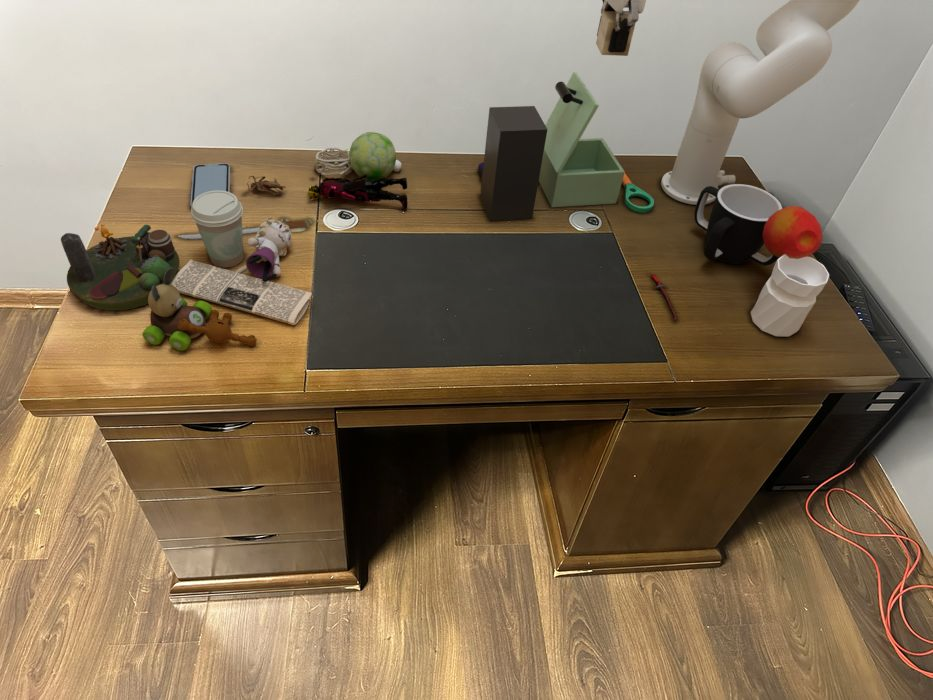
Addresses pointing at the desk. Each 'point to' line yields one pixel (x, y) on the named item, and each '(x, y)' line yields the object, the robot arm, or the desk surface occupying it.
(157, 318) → the toy car
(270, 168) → the desk surface
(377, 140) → the decorative ball
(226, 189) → the smartphone
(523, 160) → the block
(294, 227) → the sword
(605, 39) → the block
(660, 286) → the katana
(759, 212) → the mug
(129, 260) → the toy scene
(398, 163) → the spheres
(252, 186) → the insect
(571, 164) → the storage box
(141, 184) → the desk surface
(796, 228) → the apple
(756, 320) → the vase
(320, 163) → the bracelet
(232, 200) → the coffee cup
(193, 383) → the desk surface
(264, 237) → the toy
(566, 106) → the lid
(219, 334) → the toy figurine
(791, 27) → the robot arm
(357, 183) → the action figure
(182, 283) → the newspaper
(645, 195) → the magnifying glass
